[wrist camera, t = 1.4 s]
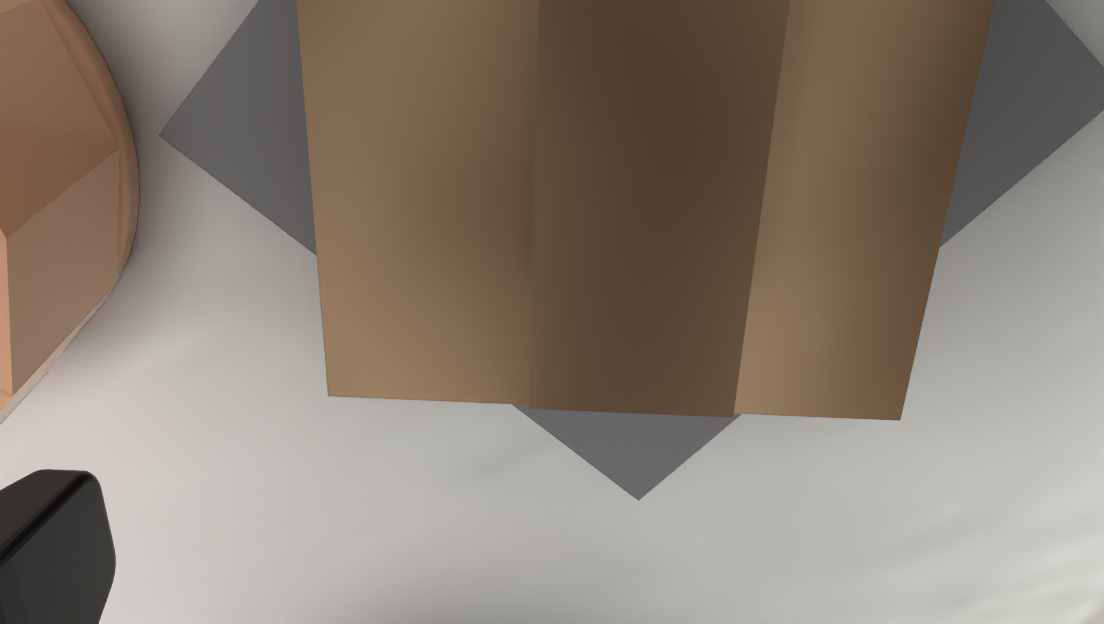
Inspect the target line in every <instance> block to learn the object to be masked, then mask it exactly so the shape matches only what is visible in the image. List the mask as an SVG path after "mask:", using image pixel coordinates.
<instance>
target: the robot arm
mask: <svg viewBox="0 0 1104 624" xmlns="http://www.w3.org/2000/svg"><path fill="white" fill-rule="evenodd" d="M115 566H116V555H115V549H114V544H113V540H112V535H111V530H110V526H109V521H108V517H107V512H106V508H105V503H104V498H103V494H102V490H101V487H100V484H99V482H98V480H97V478H96V477H95V476H94V475H93V474H91V473H89V472H88V471H77V470H51V469H46V470H39V471H36V472H33V473H31V474H29V475H28V476H26V477H24V478H22V479H20V480H18V481H17V482H15V483H13V484H11V485H9V486H7V487H5V488H4V489H2V490H0V624H99V621H100V618H101V615H102V612H103V609H104V607H105V604H106V601H107V598H108V595H109V592H110V590H111V587H112V583H113V580H114V575H115Z"/></svg>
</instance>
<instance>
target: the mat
mask: <svg viewBox="0 0 1104 624" xmlns="http://www.w3.org/2000/svg"><path fill="white" fill-rule="evenodd" d="M1103 110H1104V68H1103V67H1102V65H1101V64H1100V63H1099V62H1098V61H1097V60H1096V59H1095V57H1094V56H1093V55H1092V54H1091V53H1090V52H1089V51H1088V49H1087V48H1086V47H1085V46H1084V45H1083V44H1082V43H1081V41H1080V40H1079V39H1078V38H1077V37H1076V36H1075V35H1074V34H1073V32H1072V31H1071V30H1070V29H1069V28H1068V27H1067V26H1066V24H1065V23H1064V22H1063V21H1062V20H1061V19H1060V18H1059V16H1058V15H1057V14H1056V13H1055V12H1054V11H1053V10H1052V8H1051V7H1050V6H1049V5H1048V4H1047V3H1046V2H1045V0H995V3H994V7H993V12H992V16H991V21H990V25H989V29H988V34H987V38H986V43H985V47H984V51H983V56H982V60H981V65H980V69H979V74H978V78H977V82H976V87H975V91H974V96H973V100H972V105H971V109H970V113H969V118H968V122H967V127H966V131H965V136H964V140H963V144H962V149H961V153H960V158H959V162H958V167H957V171H956V175H955V180H954V184H953V189H952V193H951V197H950V202H949V206H948V211H947V215H946V220H945V224H944V228H943V233H942V237H941V242H940V246H939V248H940V247H941V246H942V245H943V244H944V243H946V242H947V241H948V240H949V239H950V238H952V237H953V236H954V235H955V234H956V233H957V232H959V231H960V230H961V229H962V228H963V227H965V226H966V225H967V224H968V223H969V222H971V221H972V220H973V219H974V218H975V217H977V216H978V215H979V214H980V213H981V212H982V211H984V210H985V209H986V208H987V207H988V206H990V205H991V204H992V203H993V202H994V201H996V200H997V199H998V198H999V197H1000V196H1002V195H1003V194H1004V193H1005V192H1006V191H1007V190H1009V189H1010V188H1011V187H1012V186H1013V185H1015V184H1016V183H1017V182H1018V181H1019V180H1021V179H1022V178H1023V177H1024V176H1025V175H1027V174H1028V173H1029V172H1030V171H1031V170H1032V169H1034V168H1035V167H1036V166H1037V165H1038V164H1040V163H1041V162H1042V161H1043V160H1044V159H1046V158H1047V157H1048V156H1049V155H1050V154H1052V153H1053V152H1054V151H1055V150H1056V149H1057V148H1059V147H1060V146H1061V145H1062V144H1063V143H1065V142H1066V141H1067V140H1068V139H1069V138H1071V137H1072V136H1073V135H1074V134H1075V133H1077V132H1078V131H1079V130H1080V129H1081V128H1082V127H1084V126H1085V125H1086V124H1087V123H1088V122H1090V121H1091V120H1092V119H1093V118H1094V117H1096V116H1097V115H1098V114H1099V113H1100V112H1102V111H1103ZM159 136H160V137H162V138H163V139H164V140H165V141H167V142H168V143H169V144H171V145H172V146H173V147H175V148H176V149H177V150H179V151H180V152H181V153H183V154H184V155H185V156H186V157H188V158H189V159H190V160H192V161H193V162H194V163H196V164H197V165H198V166H200V167H201V168H202V169H204V170H205V171H206V172H208V173H209V174H210V175H211V176H213V177H214V178H215V179H217V180H218V181H219V182H221V183H222V184H223V185H225V186H226V187H227V188H229V189H230V190H231V191H232V192H234V193H235V194H236V195H238V196H239V197H240V198H242V199H243V200H244V201H246V202H247V203H248V204H250V205H251V206H252V207H253V208H255V209H256V210H257V211H259V212H260V213H261V214H263V215H264V216H265V217H267V218H268V219H269V220H271V221H272V222H273V223H274V224H276V225H277V226H278V227H280V228H281V229H282V230H284V231H285V232H286V233H288V234H289V235H290V236H292V237H293V238H294V239H296V240H297V241H298V242H299V243H301V244H302V245H303V246H305V247H306V248H307V249H309V250H310V251H311V252H313V253H314V254H315V255H317V251H316V238H315V226H314V213H313V201H312V188H311V176H310V163H309V151H308V138H307V126H306V113H305V101H304V88H303V76H302V63H301V51H300V38H299V26H298V13H297V1H296V0H259V1H258V3H257V4H256V6H255V7H254V8H253V10H252V11H251V12H250V14H249V15H248V16H247V18H246V19H245V20H244V22H243V23H242V24H241V26H240V27H239V28H238V30H237V31H236V32H235V34H234V35H233V36H232V38H231V39H230V41H229V42H228V43H227V45H226V46H225V47H224V49H223V50H222V51H221V53H220V54H219V55H218V57H217V58H216V59H215V61H214V62H213V63H212V65H211V66H210V67H209V69H208V70H207V72H206V73H205V74H204V76H203V77H202V78H201V80H200V81H199V82H198V84H197V85H196V86H195V88H194V89H193V90H192V92H191V93H190V94H189V96H188V97H187V98H186V100H185V101H184V102H183V104H182V105H181V107H180V108H179V109H178V111H177V112H176V113H175V115H174V116H173V117H172V119H171V120H170V121H169V123H168V124H167V125H166V127H165V128H164V129H163V131H162V132H161V133H160V135H159ZM512 405H514V406H515V407H516V408H518V409H519V410H520V411H521V412H523V413H524V414H525V415H527V416H528V417H529V418H531V419H532V420H533V421H535V422H536V423H537V424H539V425H540V426H541V427H542V428H544V429H545V430H546V431H548V432H549V433H550V434H552V435H553V436H554V437H556V438H557V439H558V440H560V441H561V442H562V443H564V444H565V445H566V446H567V447H569V448H570V449H571V450H573V451H574V452H575V453H577V454H578V455H579V456H581V457H582V458H583V459H585V460H586V461H587V462H588V463H590V464H591V465H592V466H594V467H595V468H596V469H598V470H599V471H600V472H602V473H603V474H604V475H606V476H607V477H608V478H609V479H611V480H612V481H613V482H615V483H616V484H617V485H619V486H620V487H621V488H623V489H624V490H625V491H627V492H628V493H629V494H631V495H632V496H633V497H634V498H636V499H637V500H640V499H641V498H642V497H643V496H644V495H646V494H647V493H648V492H649V491H650V490H652V489H653V488H654V487H655V486H656V485H657V484H659V483H660V482H661V481H662V480H663V479H665V478H666V477H667V476H668V475H669V474H671V473H672V472H673V471H674V470H675V469H677V468H678V467H679V466H680V465H681V464H682V463H684V462H685V461H686V460H687V459H688V458H690V457H691V456H692V455H693V454H694V453H696V452H697V451H698V450H699V449H700V448H702V447H703V446H704V445H705V444H706V443H707V442H709V441H710V440H711V439H712V438H713V437H715V436H716V435H717V434H718V433H719V432H721V431H722V430H723V429H724V428H725V427H727V426H728V425H729V424H730V423H731V422H732V421H734V420H735V419H736V418H737V417H738V416H740V415H741V414H737V413H734V415H733V418H730V417H706V416H683V415H659V414H636V413H612V412H588V411H565V410H541V409H529V405H524V404H512Z"/></svg>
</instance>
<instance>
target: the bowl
mask: <svg viewBox="0 0 1104 624" xmlns="http://www.w3.org/2000/svg"><path fill="white" fill-rule="evenodd" d="M139 198H140V194H139V172H138V161H137V155H136V150H135V145H134V139H133V134H132V129H131V126H130V123H129V120H128V116H127V113H126V110H125V107H124V104H123V101H122V98H121V95H120V93H119V90H118V88H117V86H116V84H115V82H114V79H113V77H112V75H111V73H110V71H109V68H108V66H107V64H106V62H105V60H104V58H103V56H102V55H101V53H100V51H99V50H98V48H97V46H96V45H95V43H94V41H93V40H92V38H91V36H90V35H89V33H88V31H87V30H86V28H85V26H84V25H83V24H82V22H81V21H80V20H79V18H78V17H77V16H76V14H75V13H74V12H73V10H72V9H71V8H70V6H69V5H68V4H67V2H66V1H65V0H0V425H1V424H2V422H3V421H4V420H5V419H6V418H7V417H8V416H9V415H10V413H11V412H12V411H13V410H14V409H15V408H16V407H17V406H18V405H19V403H20V402H21V401H22V400H23V399H24V398H25V397H26V396H27V395H28V393H29V392H30V391H31V390H32V389H33V388H34V387H35V386H36V384H37V383H38V382H39V381H40V380H41V379H42V378H43V377H44V376H45V374H46V373H47V372H48V371H49V369H50V368H51V367H52V365H53V364H54V363H55V362H56V360H57V359H58V358H59V356H60V355H61V354H62V353H63V351H64V350H65V349H66V347H67V346H68V345H69V344H70V342H71V341H72V340H73V338H74V337H75V336H76V335H77V333H78V332H79V331H80V329H81V328H82V327H83V326H84V325H85V324H86V323H87V321H88V320H89V319H90V318H91V317H92V316H93V315H94V314H95V313H96V312H97V310H98V309H99V308H100V307H101V306H102V305H103V304H104V302H105V301H106V299H107V298H108V296H109V295H110V293H111V291H112V290H113V288H114V287H115V285H116V284H117V282H118V280H119V278H120V276H121V274H122V271H123V269H124V267H125V264H126V262H127V260H128V258H129V255H130V251H131V247H132V243H133V239H134V236H135V232H136V228H137V218H138V208H139Z"/></svg>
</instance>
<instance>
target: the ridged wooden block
mask: <svg viewBox="0 0 1104 624" xmlns="http://www.w3.org/2000/svg"><path fill="white" fill-rule="evenodd" d="M296 1H297V13H298V26H299V38H300V51H301V63H302V76H303V88H304V101H305V113H306V126H307V138H308V151H309V163H310V176H311V188H312V201H313V213H314V226H315V238H316V251H317V263H318V276H319V288H320V301H321V313H322V326H323V338H324V351H325V363H326V376H327V388H328V396H335V397H359V398H383V399H406V400H430V401H453V402H477V403H501V404H524V405H529V409H541V410H565V411H588V412H612V413H636V414H659V415H683V416H706V417H730V418H733V415H734V413H737V414H760V415H784V416H807V417H831V418H855V419H878V420H900V419H901V414H902V410H903V405H904V401H905V397H906V392H907V388H908V383H909V379H910V374H911V370H912V366H913V361H914V357H915V352H916V348H917V343H918V339H919V335H920V330H921V326H922V321H923V317H924V313H925V308H926V304H927V299H928V295H929V290H930V286H931V282H932V277H933V273H934V268H935V264H936V259H937V255H938V251H939V246H940V242H941V237H942V233H943V228H944V224H945V220H946V215H947V211H948V206H949V202H950V197H951V193H952V189H953V184H954V180H955V175H956V171H957V167H958V162H959V158H960V153H961V149H962V144H963V140H964V136H965V131H966V127H967V122H968V118H969V113H970V109H971V105H972V100H973V96H974V91H975V87H976V82H977V78H978V74H979V69H980V65H981V60H982V56H983V51H984V47H985V43H986V38H987V34H988V29H989V25H990V21H991V16H992V12H993V7H994V3H995V0H296Z"/></svg>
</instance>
